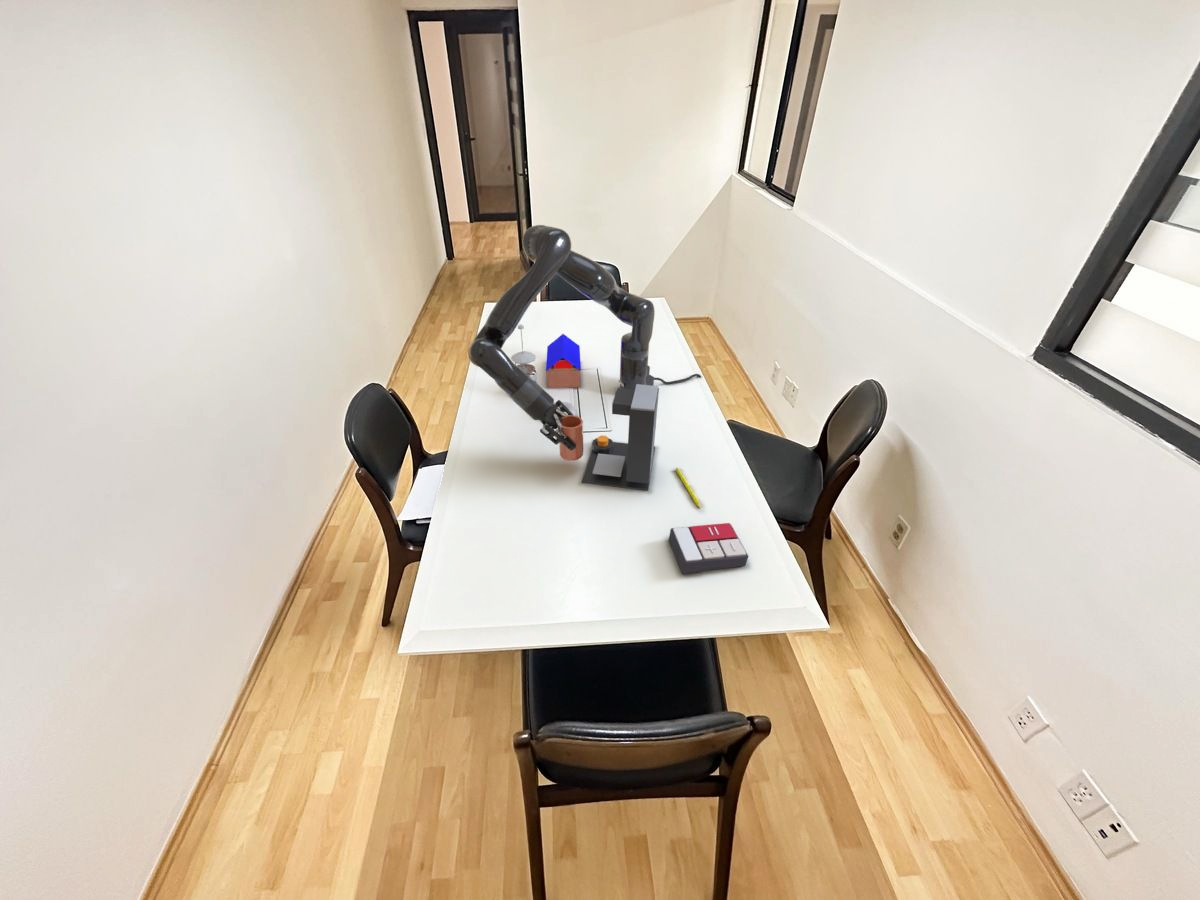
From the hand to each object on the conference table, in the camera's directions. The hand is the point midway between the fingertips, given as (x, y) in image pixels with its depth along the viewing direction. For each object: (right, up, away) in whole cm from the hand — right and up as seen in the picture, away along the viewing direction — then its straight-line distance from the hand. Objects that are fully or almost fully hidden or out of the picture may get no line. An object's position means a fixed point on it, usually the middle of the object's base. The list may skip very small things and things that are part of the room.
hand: (577, 440), depth 141 cm
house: (-7, +25, +51) cm, 57 cm away
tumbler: (-2, -4, +3) cm, 5 cm away
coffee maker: (+12, -7, +2) cm, 15 cm away
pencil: (+30, -13, -1) cm, 32 cm away
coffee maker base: (+12, -7, +7) cm, 15 cm away
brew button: (+7, -1, +11) cm, 13 cm away
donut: (-6, +8, +27) cm, 29 cm away
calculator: (+31, -26, -20) cm, 45 cm away
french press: (-19, +17, +40) cm, 47 cm away
